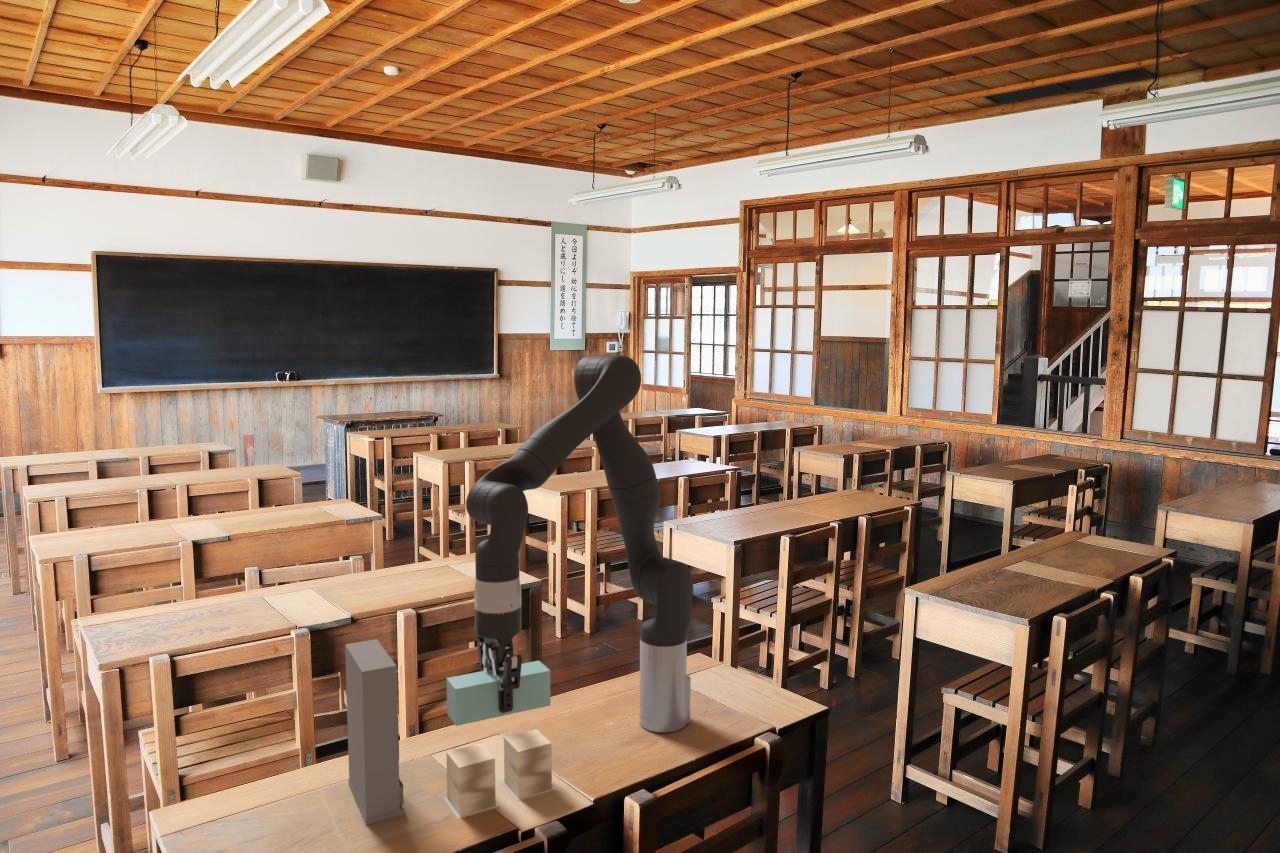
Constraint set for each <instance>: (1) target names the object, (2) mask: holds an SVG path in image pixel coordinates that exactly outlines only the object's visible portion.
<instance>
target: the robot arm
mask: <svg viewBox="0 0 1280 853" xmlns="http://www.w3.org/2000/svg"><path fill="white" fill-rule="evenodd" d="M573 373H574V375H573V380H574V388H575V389H574V390H575V392H576V396H577V399H578V400H579V401H578V402H576V403H575V404H574V405H573V406H571V407H570V408H568V409H567V410H565V411H563V412H562V413H560V414H559V415H557V416H555V417H553V418H551V420H549V421H547V422H545V423H544V424H542V426H540V427H539V428H538V429H536V430H535V431H534V432H533V433H532V434H531V435H530V436H529V437H528V438H527V439H526V440H525V441H524V442H523V443H522V444H521V445H520V446H519V448H518V449H517V450H516V451H514V453H513V455H512V456H510V457H508V458H507V459H506V460H504V461H502V462H501V463H500V464H498V465H497V466H495V467H494V468H492V469H490V470H489V471H488V472H487V473H486V474H485V473H484V475H482V476H481V477H480V478H478V479H477V481H476V482H475V483H474V484H473V485H472V487H471V488H470V490H469V492H468V494H467V497H466V499H465V508H466V512H467V514H468V515H469V517H470V518H471V519H472V520H474V521H476V523H477V522H478V523H480V524H485V525H488V526H490V529H489V530H490V531H489V536H488V538H487V539H484V540H482V541H480V542H479V543H478V544H477V545H476V548H475V554H474V555H475V558H474V559H475V562H474V563H475V564H474V565H475V566H474V567H475V583H474V593H473V595H474V600H473V602H474V603H473V604H474V633H475V634H476V643H477V653H478V664H479V666H478V667H479V669H480V671H488V670H492V669H493V675H494V676H496V677H497V681H498V689H499V690H498V698H499V711H500V712H501V713H505V712H509V711H512V709H513V689H517V688H519V686H520V675H521V664H523V662H522V661H523V657H522V655H521V654H515V647H514V642H513V638H514V637H515V636H516V635H517V636H518V634H520V632H521V631H522V587H521V586H522V584H521V579H520V549H521V546H522V543H523V538H524V534H525V530H526V526H527V522H528V517H529V504H528V503H529V502H528V500H527V496H526V495H525V491H530V490H536V489H539V488H540V487H542V485H544V484H545V483H546V482H547V480H549V479H550V477H551V476H552V475H553V474H554V473H555V472H556V470H558V468H559V467H560V466H561V465H562V464H563V463H564V461H566V459H567V458H569V456H570V455H571V454H572V453H573V452H574V451H575V449H577V448H578V447H579V446H580V445H581V444H582V443H583V442H584V441H585V440H587V438H589V437H590V436H591V435H592V436H593V439H594V441H595V446H596V448H597V452H598V455H599V459H600V462H601V464H602V468H603V471H604V475H605V478H606V483H607V488H608V491H609V494H610V498H611V502H612V503H613V506H614V510H615V513H616V517H617V519H618V524H619V528H620V529H619V530H620V533H621V536H622V540H623V544H624V548H625V554H626V559H627V566H628V571H629V577H630V582H631V585H632V588H633V591H634V593H635V594H636V595H637V597H638V598H640V599H641V600H643V601H645V602H647V603H650V604H653V605H655V606H656V608H655V616H654V617H653V618H650V619H646V620H644V621H643V622H642V624H640V628H639V724H640V726H641V727H642V728H644V729H645V730H647V731H650V732H653V733H654V732H655V733H663V734H664V733H665V734H666V733H673V732H676V731H680V730H682V729H683V728H685V727H686V726H687V725H688V724H691V693H692V692H691V690H692V689H691V688H692V686H691V685H692V683H691V682H692V679H691V676H690V675H689V674H688V673H687V668H688V667H687V664H688V663H687V658H688V656H687V655H688V654H687V651H688V650H687V649H688V648H687V647H688V646H687V644H688V642H687V639H688V631H689V628H690V624H691V620H692V610H693V609H692V606H693V590H694V589H693V588H694V586H693V584H694V582H693V575H692V572H691V569H690V568H689V566H688V565H687V564H686V563H685V562H682V561H678V560H675V559H671V558H668V557H665V556H663V555H662V554H661V552H660V550H659V547H658V543H657V538H656V535H655V522H656V520H657V519H656V518H657V516H658V513H659V508H660V505H661V504H660V503H661V491H660V485H659V483H658V478H657V475H656V471H655V467H654V465H653V462H652V460H651V459H650V457H649V455H648V453H647V452H646V451H645V449H644V448H643V447H642V445H641V444H640V443H639V442H638V440H637V439H636V438H635V436H634V435H633V434H632V432H630V430H629V429H628V427H627V425H626V424H625V422H624V419H623V418H622V414H621V411H622V410H623V409H624V408H625V407H627V406H628V405H629V404H630V403H631V402H632V401H633V400H634V399H635V397H636V396H637V395H638V393H639V391H640V388H641V383H642V373H641V369H640V367H639V364H638V363H637V362H636V361H635V360H634V359H633V358H631V357H630V356H626V355H621V354H596V355H595V354H593V355H592V354H591V355H587V356H584V357H582V358H581V359H580V360H579V361H578V363H577V364H576V366H575V370H574V372H573ZM502 667H504V670H501V671H500V670H499V669H498V668H502ZM502 676H503V679H502Z"/></svg>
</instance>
